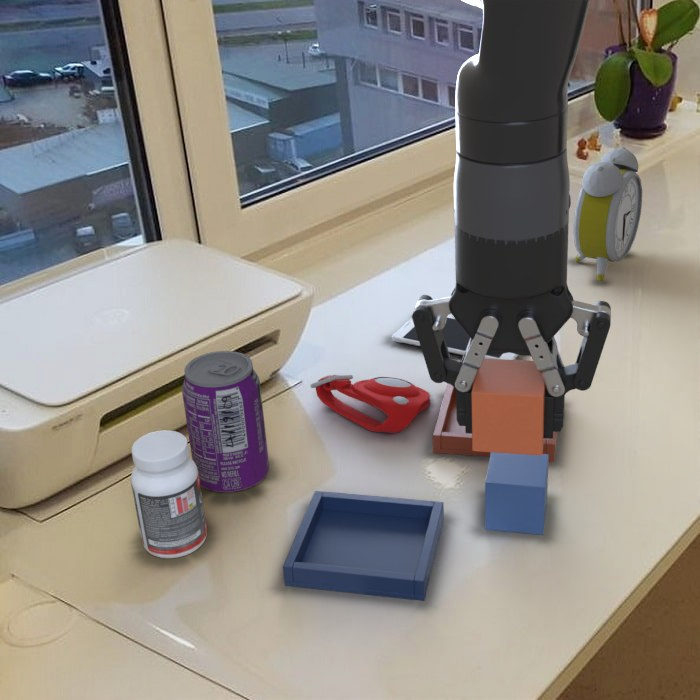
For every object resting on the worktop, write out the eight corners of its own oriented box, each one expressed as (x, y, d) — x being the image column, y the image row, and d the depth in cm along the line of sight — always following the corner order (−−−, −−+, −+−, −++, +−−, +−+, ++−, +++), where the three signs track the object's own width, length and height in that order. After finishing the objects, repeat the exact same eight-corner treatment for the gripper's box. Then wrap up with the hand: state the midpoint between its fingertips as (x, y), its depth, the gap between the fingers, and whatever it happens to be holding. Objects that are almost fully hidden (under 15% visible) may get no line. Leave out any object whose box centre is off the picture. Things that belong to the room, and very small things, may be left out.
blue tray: (443, 520, 94) (443, 501, 93) (424, 601, 85) (423, 581, 84) (316, 508, 96) (314, 490, 96) (284, 585, 87) (282, 566, 86)
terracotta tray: (560, 404, 110) (561, 387, 109) (554, 462, 101) (555, 444, 100) (448, 397, 112) (448, 380, 111) (432, 452, 103) (432, 435, 102)
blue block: (547, 500, 96) (548, 454, 93) (543, 535, 91) (545, 487, 89) (491, 495, 97) (491, 449, 94) (484, 529, 92) (485, 482, 90)
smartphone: (510, 362, 117) (389, 336, 124) (510, 367, 117) (389, 341, 124) (535, 333, 122) (418, 310, 129) (535, 338, 123) (418, 315, 129)
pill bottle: (221, 538, 93) (207, 443, 89) (168, 570, 90) (151, 472, 85) (182, 512, 97) (167, 419, 92) (129, 541, 94) (111, 446, 89)
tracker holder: (421, 372, 115) (445, 398, 105) (415, 412, 116) (438, 440, 106) (310, 362, 112) (325, 387, 103) (305, 403, 113) (319, 431, 104)
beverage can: (283, 464, 103) (271, 355, 97) (246, 505, 97) (232, 392, 92) (220, 450, 106) (205, 343, 100) (181, 489, 100) (163, 379, 95)
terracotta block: (546, 418, 80) (547, 360, 78) (542, 456, 76) (543, 395, 74) (479, 415, 81) (479, 357, 79) (472, 451, 77) (471, 392, 75)
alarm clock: (609, 287, 134) (616, 172, 127) (557, 278, 137) (562, 165, 130) (639, 253, 142) (648, 144, 135) (590, 245, 146) (596, 138, 138)
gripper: (394, 233, 69) (405, 452, 77) (622, 238, 66) (610, 466, 74) (413, 193, 75) (422, 399, 83) (622, 195, 72) (610, 409, 80)
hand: (510, 429), depth 79 cm, fingers closed on terracotta block, 5 cm apart
